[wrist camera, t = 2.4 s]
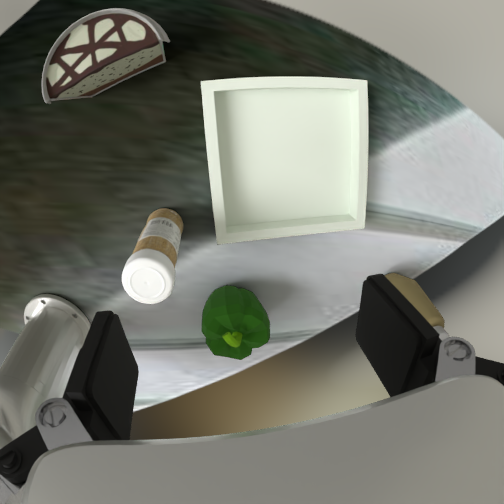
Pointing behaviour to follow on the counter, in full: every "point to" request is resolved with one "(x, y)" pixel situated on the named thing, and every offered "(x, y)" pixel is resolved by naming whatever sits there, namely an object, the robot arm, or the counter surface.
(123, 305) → the counter surface
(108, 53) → the food container
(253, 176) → the tray
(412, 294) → the squeeze bottle
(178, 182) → the counter surface
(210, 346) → the bell pepper
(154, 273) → the sprinkles bottle
